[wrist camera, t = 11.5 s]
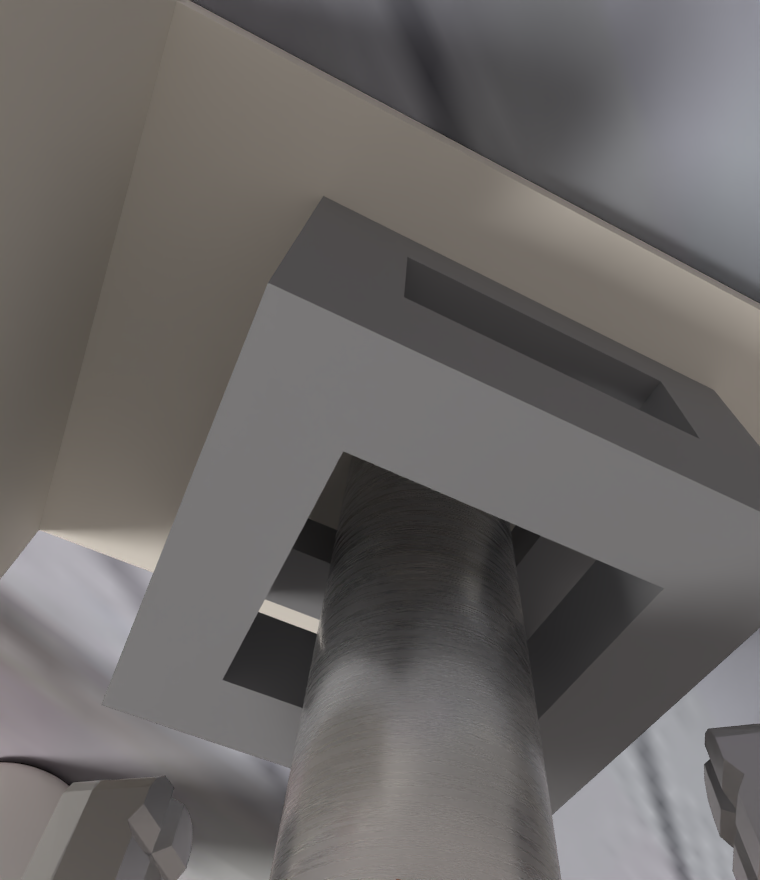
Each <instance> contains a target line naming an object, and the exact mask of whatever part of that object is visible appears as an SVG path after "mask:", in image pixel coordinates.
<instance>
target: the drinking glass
mask: <svg viewBox="0 0 760 880" xmlns="http://www.w3.org/2000/svg"><path fill="white" fill-rule="evenodd" d="M68 787H69V786H68V785H67V784H66V783H65V782H64V781H62V780H61V779H59V778H58V777H56V776H54V775H52V774H50V773H48V772H46V771H44V770H41V769H38V768H35V767H32V766H28V765H24V764H18V763H7V762H0V880H21V879H22V877H23V875H24V873H25V871H26V869H27V867H28V865H29V863H30V860H31V858H32V856H33V854H34V852H35V850H36V848H37V846H38V844H39V842H40V840H41V838H42V836H43V834H44V832H45V829H46V827H47V825H48V823H49V821H50V819H51V817H52V815H53V813H54V811H55V809H56V807H57V805H58V803H59V800H60V798H61V796H62V794H63V793H64V792H65V791H66V790H67V788H68Z"/></svg>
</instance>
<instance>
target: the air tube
mask: <svg viewBox="0 0 760 880" xmlns="http://www.w3.org/2000/svg"><path fill="white" fill-rule="evenodd" d="M269 880H561V874H560V867H559V860H558V853H557V846H556V840H555V833H554V826H553V819H552V812H551V805H550V798H549V791H548V784H547V778H546V771H545V764H544V757H543V750H542V743H541V736H540V729H539V722H538V716H537V709H536V702H535V695H534V688H533V681H532V674H531V667H530V660H529V654H528V647H527V640H526V633H525V626H524V619H523V612H522V605H521V598H520V591H519V585H518V578H517V571H516V564H515V557H514V550H513V543H512V536H511V529H510V523H509V522H507V521H505V520H503V519H500V518H498V517H496V516H493V515H491V514H489V513H486V512H484V511H482V510H479V509H477V508H475V507H472V506H470V505H468V504H465V503H463V502H461V501H458V500H456V499H454V498H451V497H449V496H447V495H444V494H442V493H440V492H437V491H435V490H433V489H430V488H428V487H426V486H423V485H421V484H419V483H416V482H414V481H412V480H409V479H407V478H405V477H402V476H400V475H398V474H395V473H393V472H391V471H388V470H386V469H384V468H381V467H379V466H377V465H374V464H372V463H370V462H367V461H365V460H363V459H360V458H358V457H356V456H352V458H351V461H350V466H349V471H348V476H347V481H346V486H345V491H344V497H343V502H342V507H341V512H340V517H339V522H338V528H337V533H336V538H335V543H334V548H333V553H332V559H331V564H330V569H329V574H328V579H327V584H326V590H325V595H324V600H323V605H322V610H321V615H320V621H319V626H318V631H317V636H316V641H315V646H314V652H313V657H312V662H311V667H310V672H309V677H308V683H307V688H306V693H305V698H304V703H303V709H302V714H301V719H300V724H299V729H298V734H297V740H296V745H295V750H294V755H293V760H292V765H291V771H290V776H289V781H288V786H287V791H286V796H285V802H284V807H283V812H282V817H281V822H280V827H279V833H278V838H277V843H276V848H275V853H274V858H273V864H272V869H271V874H270V879H269Z"/></svg>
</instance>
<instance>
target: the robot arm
mask: <svg viewBox="0 0 760 880" xmlns="http://www.w3.org/2000/svg"><path fill="white" fill-rule="evenodd" d="M705 747H706V749H707V752H708V755H709V757H710V760H709V761H707V762H706V763H705V764H704V781H705V786H706V792H707V798H708V802H709V805H710V809H711V812H712V815H713V818H714V821H715V824H716V827H717V830H718V832H719V835H720V837H721V838H723V839H724V840H725V841H726V842H727V843H728V844H729V845H731V846H732V847H733V848H734V851H733V869H732V871H733V873H734V876H735V879H736V880H760V724H750V725H741V726H731V727H721V728H711V729H708V730H707V731H706V733H705ZM173 790H174V787H173V786H172V784H171V783H170V781H169V780H168V779H167V777H166V776H155V777H142V778H128V779H115V780H96V781H85V782H74V783H72V784H71V785H70V786H69V787H68V788H67V790H66V791H65V792H64V793H63V794H62V796H61V798H60V800H59V803H58V805H57V807H56V809H55V811H54V813H53V815H52V817H51V819H50V821H49V823H48V825H47V827H46V829H45V832H44V834H43V836H42V838H41V840H40V842H39V844H38V846H37V848H36V850H35V852H34V854H33V856H32V858H31V860H30V863H29V865H28V867H27V869H26V871H25V873H24V875H23V877H22V879H21V880H177V879H178V878H179V877H180V875H181V874H182V873H183V872H184V871H185V869H186V868H187V864H188V861H189V857H190V853H191V849H192V834H193V826H192V822H191V817H190V814H189V812H188V810H187V808H186V807H185V805H184V804H182V803H180V802H179V801H177V800H175V799H173V798H171V796H172V793H173Z"/></svg>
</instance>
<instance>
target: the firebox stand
mask: <svg viewBox="0 0 760 880" xmlns="http://www.w3.org/2000/svg"><path fill="white" fill-rule="evenodd" d="M352 456H356V457H358V458H360V459H363V460H365V461H367V462H370V463H372V464H374V465H377V466H379V467H381V468H384V469H386V470H388V471H391V472H393V473H395V474H398V475H400V476H402V477H405V478H407V479H409V480H412V481H414V482H416V483H419V484H421V485H423V486H426V487H428V488H430V489H433V490H435V491H437V492H440V493H442V494H444V495H447V496H449V497H451V498H454V499H456V500H458V501H461V502H463V503H465V504H468V505H470V506H472V507H475V508H477V509H479V510H482V511H484V512H486V513H489V514H491V515H493V516H496V517H498V518H500V519H503V520H505V521H507V522H509V523H510V529H511V536H512V543H513V550H514V557H515V564H516V571H517V578H518V585H519V591H520V598H521V605H522V612H523V619H524V626H525V633H526V640H527V647H528V654H529V660H530V667H531V674H532V681H533V688H534V695H535V702H536V709H537V716H538V722H539V729H540V736H541V743H542V750H543V757H544V764H545V771H546V778H547V784H548V791H549V798H550V805H551V812H552V815H553V814H554V813H555V812H556V811H557V810H558V809H559V808H560V807H561V806H563V805H564V804H565V803H566V802H567V801H568V800H569V799H570V798H571V797H573V796H574V795H575V794H576V793H577V792H578V791H579V790H580V789H581V788H583V787H584V786H585V785H586V784H587V783H588V782H589V781H590V780H591V779H593V778H594V777H595V776H596V775H597V774H598V773H599V772H600V771H601V770H602V769H604V768H605V767H606V766H607V765H608V764H609V763H610V762H611V761H612V760H614V759H615V758H616V757H617V756H618V755H619V754H620V753H621V752H622V751H624V750H625V749H626V748H627V747H628V746H629V745H630V744H631V743H632V742H634V741H635V740H636V739H637V738H638V737H639V736H640V735H641V734H642V733H643V732H645V731H646V730H647V729H648V728H649V727H650V726H651V725H652V724H653V723H655V722H656V721H657V720H658V719H659V718H660V717H661V716H662V715H663V714H665V713H666V712H667V711H668V710H669V709H670V708H671V707H672V706H673V705H675V704H676V703H677V702H678V701H679V700H680V699H681V698H682V697H683V696H685V695H686V694H687V693H688V692H689V691H690V690H691V689H692V688H693V687H694V686H696V685H697V684H698V683H699V682H700V681H701V680H702V679H703V678H704V677H706V676H707V675H708V674H709V673H710V672H711V671H712V670H713V669H714V668H716V667H717V666H718V665H719V664H720V663H721V662H722V661H723V660H724V659H726V658H727V657H728V656H729V655H730V654H731V653H732V652H733V651H734V650H736V649H737V648H738V647H739V646H740V645H741V644H742V643H743V642H744V641H745V640H747V639H748V638H749V637H750V636H751V635H752V634H753V633H754V632H755V631H757V630H758V629H759V628H760V303H758V302H756V301H754V300H752V299H750V298H748V297H746V296H745V295H743V294H741V293H739V292H737V291H735V290H733V289H731V288H730V287H728V286H726V285H724V284H722V283H720V282H718V281H716V280H714V279H713V278H711V277H709V276H707V275H705V274H703V273H701V272H699V271H698V270H696V269H694V268H692V267H690V266H688V265H686V264H684V263H683V262H681V261H679V260H677V259H675V258H673V257H671V256H669V255H667V254H666V253H664V252H662V251H660V250H658V249H656V248H654V247H652V246H651V245H649V244H647V243H645V242H643V241H641V240H639V239H637V238H636V237H634V236H632V235H630V234H628V233H626V232H624V231H622V230H620V229H619V228H617V227H615V226H613V225H611V224H609V223H607V222H605V221H604V220H602V219H600V218H598V217H596V216H594V215H592V214H590V213H588V212H587V211H585V210H583V209H581V208H579V207H577V206H575V205H573V204H572V203H570V202H568V201H566V200H564V199H562V198H560V197H558V196H557V195H555V194H553V193H551V192H549V191H547V190H545V189H543V188H541V187H540V186H538V185H536V184H534V183H532V182H530V181H528V180H526V179H525V178H523V177H521V176H519V175H517V174H515V173H513V172H511V171H510V170H508V169H506V168H504V167H502V166H500V165H498V164H496V163H494V162H493V161H491V160H489V159H487V158H485V157H483V156H481V155H479V154H478V153H476V152H474V151H472V150H470V149H468V148H466V147H464V146H463V145H461V144H459V143H457V142H455V141H453V140H451V139H449V138H447V137H446V136H444V135H442V134H440V133H438V132H436V131H434V130H432V129H431V128H429V127H427V126H425V125H423V124H421V123H419V122H417V121H416V120H414V119H412V118H410V117H408V116H406V115H404V114H402V113H400V112H399V111H397V110H395V109H393V108H391V107H389V106H387V105H385V104H384V103H382V102H380V101H378V100H376V99H374V98H372V97H370V96H368V95H367V94H365V93H363V92H361V91H359V90H357V89H355V88H353V87H352V86H350V85H348V84H346V83H344V82H342V81H340V80H338V79H337V78H335V77H333V76H331V75H329V74H327V73H325V72H323V71H321V70H320V69H318V68H316V67H314V66H312V65H310V64H308V63H306V62H305V61H303V60H301V59H299V58H297V57H295V56H293V55H291V54H290V53H288V52H286V51H284V50H282V49H280V48H278V47H276V46H274V45H273V44H271V43H269V42H267V41H265V40H263V39H261V38H259V37H258V36H256V35H254V34H252V33H250V32H248V31H246V30H244V29H243V28H241V27H239V26H237V25H235V24H233V23H231V22H229V21H227V20H226V19H224V18H222V17H220V16H218V15H216V14H214V13H212V12H211V11H209V10H207V9H205V8H203V7H201V6H199V5H197V4H195V3H194V2H192V1H190V0H0V579H1V578H2V576H3V575H4V574H5V573H6V571H7V570H8V569H9V567H10V566H11V565H12V564H13V562H14V561H15V560H16V559H17V557H18V556H19V555H20V553H21V552H22V551H23V550H24V548H25V547H26V546H27V544H28V543H29V542H30V541H31V539H32V538H33V537H34V536H35V534H36V533H37V532H38V530H41V531H44V532H46V533H49V534H52V535H54V536H57V537H60V538H62V539H65V540H68V541H70V542H73V543H76V544H78V545H81V546H84V547H86V548H89V549H92V550H94V551H97V552H100V553H102V554H105V555H108V556H110V557H113V558H116V559H118V560H121V561H124V562H126V563H129V564H132V565H135V566H137V567H140V568H143V569H145V570H148V571H151V572H153V575H152V578H151V580H150V583H149V585H148V588H147V590H146V593H145V595H144V598H143V600H142V603H141V605H140V608H139V611H138V613H137V616H136V618H135V621H134V623H133V626H132V628H131V631H130V633H129V636H128V638H127V641H126V643H125V646H124V649H123V651H122V654H121V656H120V659H119V661H118V664H117V666H116V669H115V671H114V674H113V676H112V679H111V681H110V684H109V687H108V689H107V692H106V694H105V697H104V699H103V702H102V704H101V705H103V706H106V707H109V708H112V709H115V710H118V711H121V712H124V713H127V714H130V715H133V716H136V717H139V718H142V719H145V720H148V721H151V722H153V723H156V724H159V725H162V726H165V727H168V728H171V729H174V730H177V731H180V732H183V733H186V734H189V735H192V736H195V737H198V738H201V739H204V740H207V741H210V742H213V743H216V744H219V745H222V746H225V747H228V748H231V749H234V750H237V751H240V752H243V753H246V754H249V755H252V756H255V757H258V758H261V759H264V760H267V761H270V762H273V763H276V764H279V765H282V766H285V767H288V768H291V765H292V760H293V755H294V750H295V745H296V740H297V734H298V729H299V724H300V719H301V714H302V709H303V703H304V698H305V693H306V688H307V683H308V677H309V672H310V667H311V662H312V657H313V652H314V646H315V641H316V636H317V631H318V626H319V621H320V615H321V610H322V605H323V600H324V595H325V590H326V584H327V579H328V574H329V569H330V564H331V559H332V553H333V548H334V543H335V538H336V533H337V528H338V522H339V517H340V512H341V507H342V502H343V497H344V491H345V486H346V481H347V476H348V471H349V466H350V461H351V458H352ZM265 614H266V615H265ZM273 617H274V618H273ZM281 620H282V621H281ZM289 623H290V624H289ZM297 626H298V627H297Z"/></svg>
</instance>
